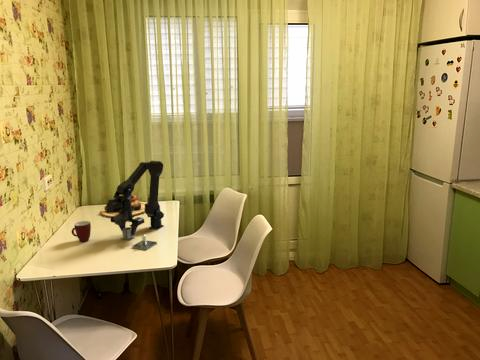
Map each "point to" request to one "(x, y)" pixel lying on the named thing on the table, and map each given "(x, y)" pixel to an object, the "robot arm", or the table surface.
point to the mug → (82, 230)
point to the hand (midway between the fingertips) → (128, 234)
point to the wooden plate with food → (137, 210)
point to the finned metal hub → (144, 244)
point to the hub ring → (127, 233)
